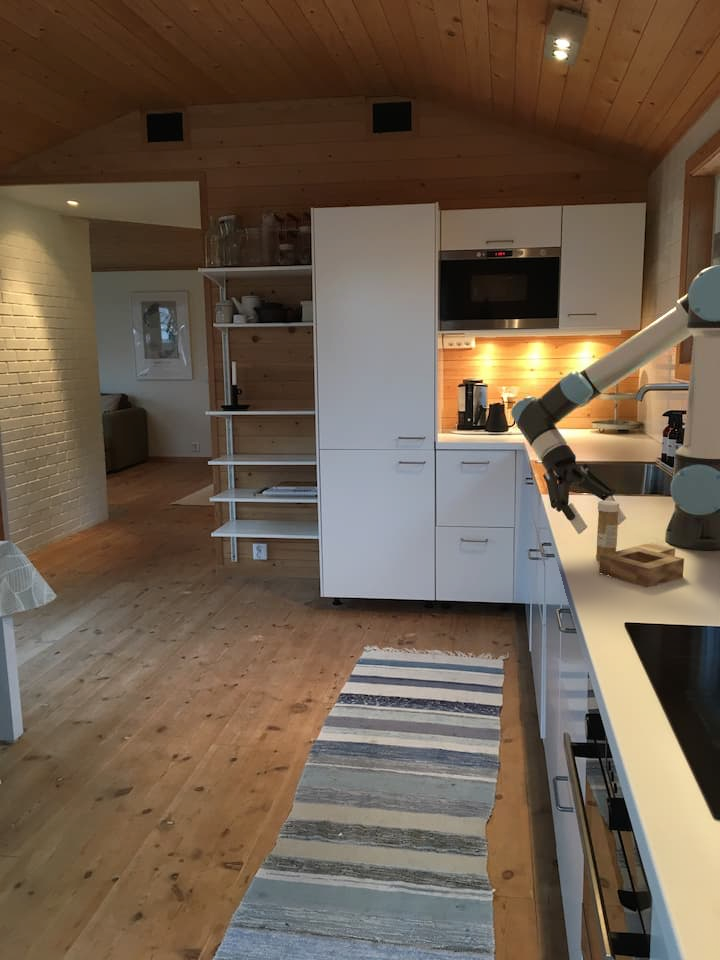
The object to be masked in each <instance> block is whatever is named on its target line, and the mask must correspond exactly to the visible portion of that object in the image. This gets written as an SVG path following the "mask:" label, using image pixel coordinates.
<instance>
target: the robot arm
mask: <svg viewBox="0 0 720 960" xmlns="http://www.w3.org/2000/svg"><path fill="white" fill-rule="evenodd" d="M675 305H676V306H675V307H674V308H672V309H671V310H669V311H668V312H667V313H665V314H664V315H662V316H661V317H659V318H658V319H656V320H655V321H653V322H651V324H649V325H647V326H646V327H645V328H643V329H641V330H640V331H639V332H637V333H636V334H634V335H632V336H631V337H630V338H628V339H627V340H625V341H624V342H622V343H621V344H619V345H618V346H617V347H616V348H614V349H613V350H611V351H609V352H608V353H606V354H605V355H604V356H602V357H600V358H599V359H598V360H596V361H594V363H592V364H590V365H589V366H588V367H586V368H585V369H583V370H582V371H576V370H573V371H571V372H569V373H568V374H567V375H565V376H564V377H562V378H561V380H559V381H558V382H557V383H556V384H555V385H554V386H552V387H551V388H550V389H549V390H547V391H546V392H545V393H543V395H542V396H540V397H538V398H537V397H535V396H532V395H531V396H526V397H524V398H523V399H520V400H518V401H517V402H516V403H515V404H514V405H513V407H512V409H511V412H510V413H511V417H512V419H513V421H514V422H515V424H516V427H517V429H519V430H520V432H521V434H522V435H523V436H524V438H525V439H526V441H527V443H528V444H529V445H530V447H531V449H532V450H533V452H534V453H535V455H536V456H537V458H538V460H539V461H541V464H542V466H543V467H544V469H545V472H544V474H543V475H542V477H543V480H544V481H545V483H546V487H547V492H548V496H549V497H548V498H549V502H550V507H551V508H552V510H553V509H555V510H556V511H557V513H560V512H561V511H562V513H563V514H564V516H565V518H566V519H567V520H568V521H569V523H571V525H572V527H573V528H574V530H575V531H576V532H577V534H578V535H580V534H582V533H583V532H584V531H585V530H586V529H587V528H588V525H587V524H586V522H585V521H584V519H583V518H582V517H581V515H580V513H579V511H578V510H577V508H576V507H575V505H574V503H573V502H572V503H569V501H570V500H569V499H570V488H571V487H578V488H583V489H585V490H586V491H588V492H589V493H591V494H592V495H594V496H596V497H597V498H598V499H600V500H601V501H604V500H609V501H616V500H615V499H614V497H613V496H614V494H616V493H617V491H616V489H615V488H614V487H613V486H611V485H610V483H608V482H607V481H606V480H604V479H603V478H602V477H601V476H599V474H598V473H596V472H595V471H594V470H593V469H592V468H591V467H590V465H589V464H587V463H584V464H583V465H582V466H579V465H578V464H577V463H576V459H577V457H576V454H575V452H573V450H572V448H571V447H570V445H568V443H567V441H566V440H565V438H564V436H563V435H562V433H561V432H560V431H559V429H558V427H556V425H557V424H558V423H559V422H561V421H562V420H563V419H564V418H566V417H567V416H568V415H569V414H571V413H572V412H573V411H575V410H576V409H579V408H583V407H585V406H586V405H588V404H590V403H591V402H592V401H593V400H595V399H596V398H598V397H599V396H600V395H602V394H603V393H604V392H606V391H608V390H610V389H611V388H613V387H614V386H615V385H617V384H618V383H620V382H622V381H623V380H624V379H626V378H628V377H629V376H631V375H633V374H634V373H635V372H637V371H639V370H640V369H642V368H643V367H645V366H647V365H648V364H649V363H651V362H652V361H654V360H655V359H657V358H658V357H660V356H662V355H663V354H665V353H667V352H668V351H670V350H671V349H672V348H674V347H675V346H677V345H679V344H680V343H681V342H683V341H685V340H686V339H687V338H689V337H691V336H692V337H693V340H692V341H693V342H692V350H691V361H690V369H689V370H690V372H689V384H688V393H687V404H686V414H685V422H684V423H685V424H684V433H683V434H684V435H683V443H682V445H681V446H680V447H678V449H677V450H675V453H674V462H673V463H674V464H673V473H672V479H671V481H670V486H669V490H670V495H671V498H672V500H673V502H674V509H673V512H672V515H671V517H670V520H669V522H668V525H667V527H666V529H665V537H664V540H665V542H667V543H668V544H671V545H673V546H676V547H680V548H687V549H692V550H693V549H694V550H703V551H707V550H708V551H714V550H715V551H716V550H720V264H718V265H717V264H716V265H712V266H708V267H707V268H704V269H703V270H701V271H700V272H698V274H697V275H696V276H695V277H694V278H693V280H692V282H691V283H690V286H689V288H688V292H687V293H686V294H685V295H684V296H682V297H681V298H680V299H678V300H677V301H676V304H675ZM626 519H627V516H626V515H625V513H623V511H622V510H621V508H620V507H619V511H618V526H620V525H621V524H622V523H624V522H625V520H626Z"/></svg>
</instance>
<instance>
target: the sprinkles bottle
mask: <svg viewBox="0 0 720 960" xmlns="http://www.w3.org/2000/svg"><path fill="white" fill-rule="evenodd" d="M619 508H620V503H619V502H618V501H616V500H615V501H609V500H604V501H603V500H600V501H598V502H597V512H598V518H597V519H598V521H597V533H596V534H597V535H596V537H597V538H596V555H595V559H596V560H598V561H600V556H601V555H604V554H608V553H612V552H616V551H617V545H618V544H617V543H618V528H619V525H618V511H619Z"/></svg>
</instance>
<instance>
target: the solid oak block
mask: <svg viewBox="0 0 720 960" xmlns="http://www.w3.org/2000/svg"><path fill="white" fill-rule="evenodd" d="M634 547H639V548H643V549H647V550H651V551H655V552H659V553H663V554H667V555H671V556H675V557H676V548H675V547H672V546H668V545H663V544H661V543H660V544H659V543H655V542H648V543H644V544H640V545H636V546H634Z"/></svg>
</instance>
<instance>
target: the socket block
mask: <svg viewBox="0 0 720 960" xmlns="http://www.w3.org/2000/svg"><path fill="white" fill-rule="evenodd" d="M684 563H685V558H683V557H680V556H679V557H678V556H676V555H675V556H671V555H667V554H663V553H659V552H655V551H651V550H647V549H643V548H639V547H635V546H632V547H629V548H624V549H621V550H616V552H612V553H608V554H604V555H601V556H600V560H599V570H598V574H599V573H602V574H605V575H604V576H606V575H609V576H611V577H610V578H613V577H614V578H613V579H616V578H617V580H619V579H620V581H624V582H626V583H630V584H633V585H637V586H641V587H643V586H644V588H647V587H649V588H651V586H652V587H654V586H659V585H661V583H662V584H664V583H668V582H671V581H674V580H675V581H676V580H678V579H681V578H684V567H685V566H684ZM602 574H601V575H602ZM609 576H608V577H609ZM658 584H659V585H658Z"/></svg>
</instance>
